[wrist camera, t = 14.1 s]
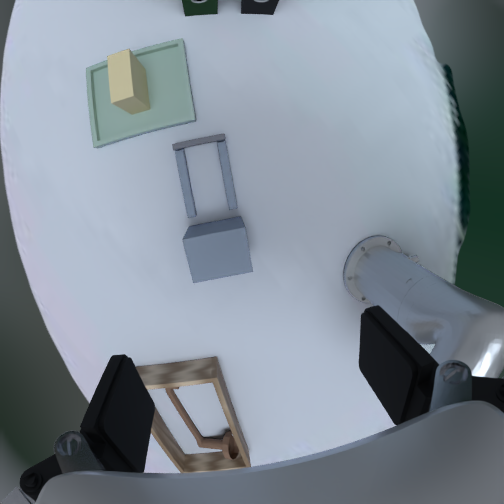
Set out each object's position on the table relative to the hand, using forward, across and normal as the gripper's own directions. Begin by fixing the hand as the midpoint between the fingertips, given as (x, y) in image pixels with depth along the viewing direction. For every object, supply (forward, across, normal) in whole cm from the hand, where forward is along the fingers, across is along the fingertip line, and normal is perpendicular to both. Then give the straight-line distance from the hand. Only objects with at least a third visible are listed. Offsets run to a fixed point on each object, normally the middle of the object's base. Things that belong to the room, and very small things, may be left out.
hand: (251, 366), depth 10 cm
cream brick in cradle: (+34, +10, -22) cm, 41 cm away
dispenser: (+34, +2, -3) cm, 34 cm away
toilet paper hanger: (+35, +14, +42) cm, 56 cm away
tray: (+34, +10, -22) cm, 42 cm away
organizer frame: (+34, +16, +42) cm, 57 cm away
